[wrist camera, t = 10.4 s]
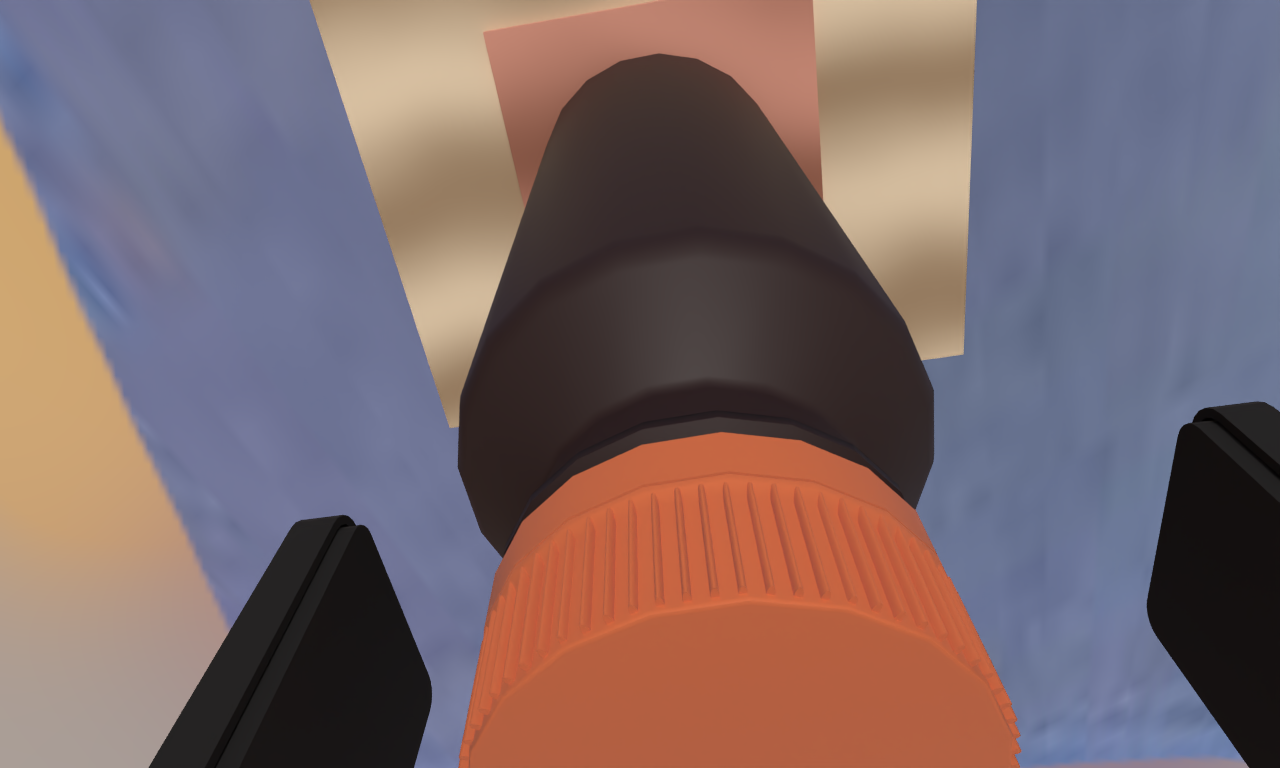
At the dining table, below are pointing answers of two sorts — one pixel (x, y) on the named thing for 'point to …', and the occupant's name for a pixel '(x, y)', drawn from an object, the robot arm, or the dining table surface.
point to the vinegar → (706, 466)
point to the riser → (634, 27)
